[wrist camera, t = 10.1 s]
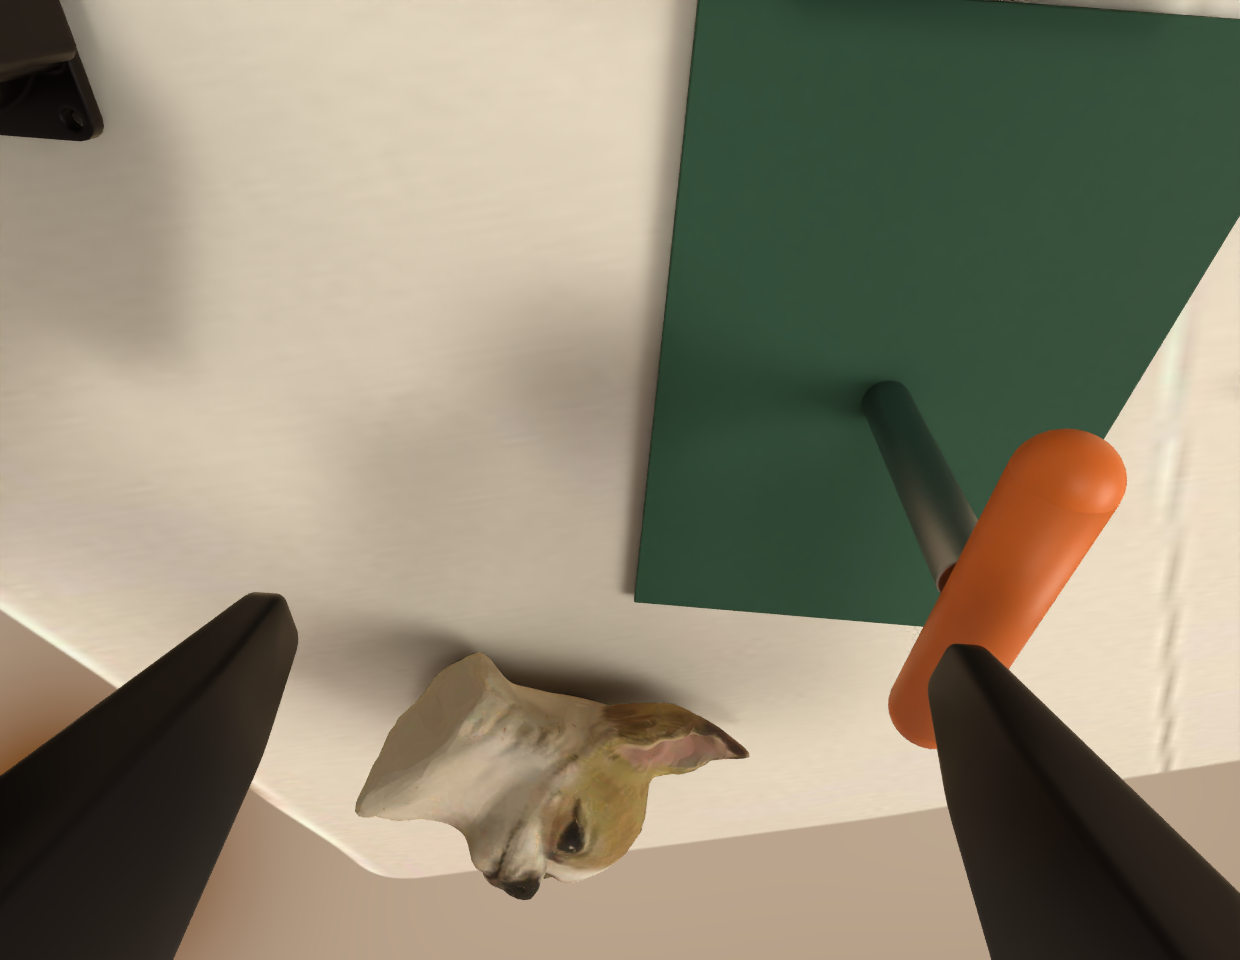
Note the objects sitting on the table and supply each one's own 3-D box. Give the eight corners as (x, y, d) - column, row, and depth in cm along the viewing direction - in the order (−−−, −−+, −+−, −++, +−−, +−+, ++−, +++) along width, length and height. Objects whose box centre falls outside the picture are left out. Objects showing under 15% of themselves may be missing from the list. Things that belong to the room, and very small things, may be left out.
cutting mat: (634, 595, 27) (634, 602, 27) (699, -22, 15) (700, -21, 15) (983, 624, 27) (986, 632, 27) (1340, 26, 15) (1354, 28, 14)
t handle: (820, 507, 23) (888, 760, 16) (900, 255, 18) (1058, 465, 11) (873, 511, 23) (964, 767, 16) (968, 260, 18) (1172, 474, 11)
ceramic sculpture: (386, 798, 20) (781, 895, 25) (446, 579, 27) (749, 688, 32) (302, 906, 26) (633, 967, 31) (368, 705, 33) (632, 781, 38)
